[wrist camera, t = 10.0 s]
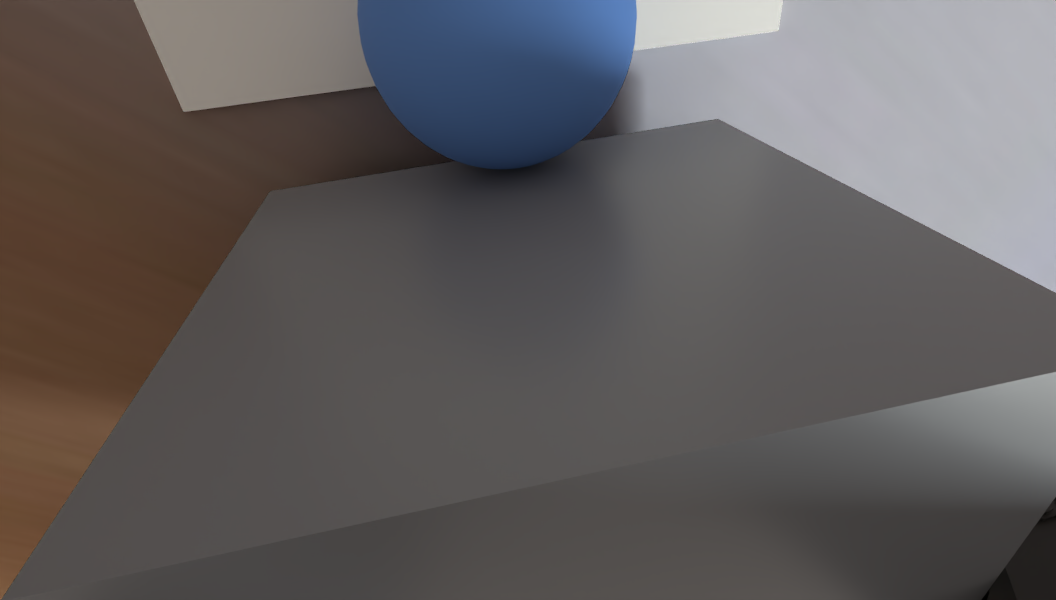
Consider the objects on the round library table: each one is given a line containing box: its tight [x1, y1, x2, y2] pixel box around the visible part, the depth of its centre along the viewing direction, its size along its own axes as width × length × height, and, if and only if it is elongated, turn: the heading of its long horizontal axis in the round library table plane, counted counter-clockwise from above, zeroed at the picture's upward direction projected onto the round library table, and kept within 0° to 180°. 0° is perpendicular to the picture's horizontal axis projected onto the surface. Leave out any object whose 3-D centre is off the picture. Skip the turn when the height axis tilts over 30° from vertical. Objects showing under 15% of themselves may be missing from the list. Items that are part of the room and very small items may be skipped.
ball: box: [357, 0, 637, 169], centre depth 10 cm, size 5×5×5 cm
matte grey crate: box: [1, 119, 1056, 600], centre depth 11 cm, size 10×10×9 cm
